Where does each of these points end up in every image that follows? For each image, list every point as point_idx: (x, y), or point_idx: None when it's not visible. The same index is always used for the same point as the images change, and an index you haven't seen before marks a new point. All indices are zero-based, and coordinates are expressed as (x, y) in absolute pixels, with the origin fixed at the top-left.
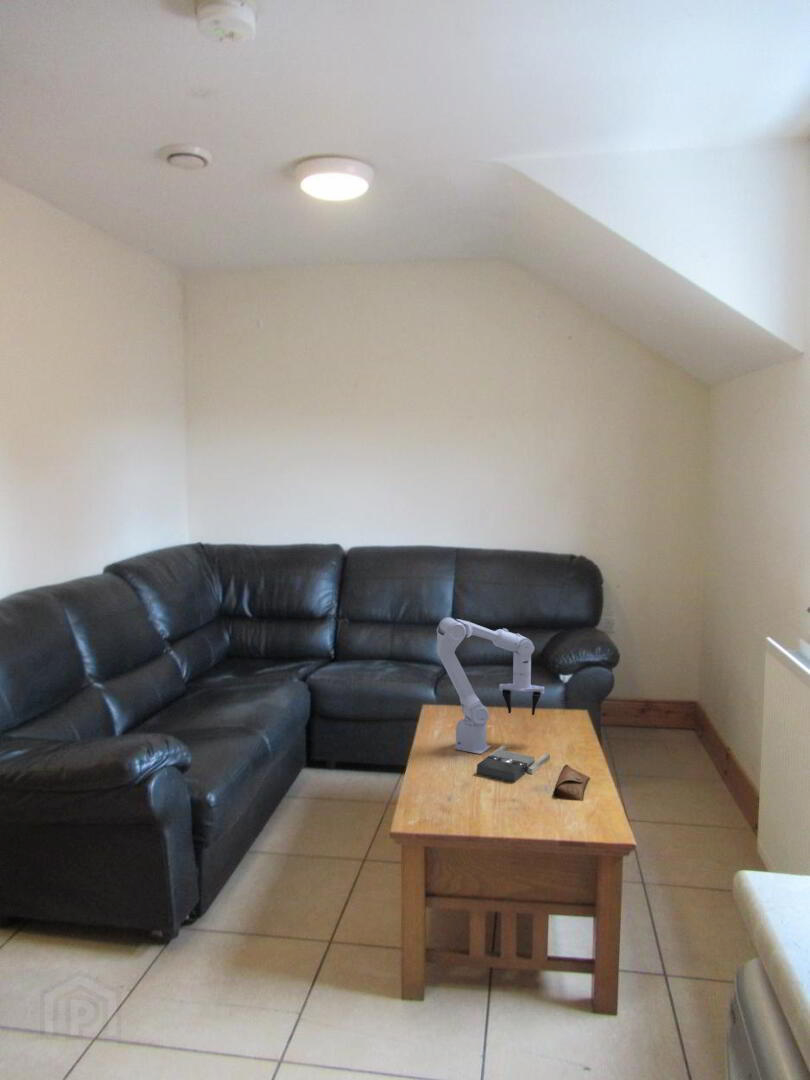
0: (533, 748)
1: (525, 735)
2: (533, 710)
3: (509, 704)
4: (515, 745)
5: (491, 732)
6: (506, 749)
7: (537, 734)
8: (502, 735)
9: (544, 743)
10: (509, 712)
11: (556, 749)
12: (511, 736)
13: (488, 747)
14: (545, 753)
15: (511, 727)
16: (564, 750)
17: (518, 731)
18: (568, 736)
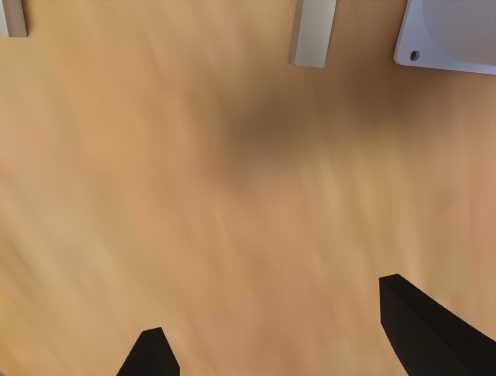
0: (164, 159)
1: (263, 293)
2: (126, 373)
3: (459, 352)
4: (268, 156)
5: (418, 259)
6: (292, 43)
7: (219, 323)
8: (363, 249)
9: (144, 246)
10: (393, 280)
11: (50, 201)
12: (320, 256)
13: (407, 18)
14: (7, 34)
15: (344, 340)
16: (7, 206)
17: (305, 318)
18: (91, 358)
